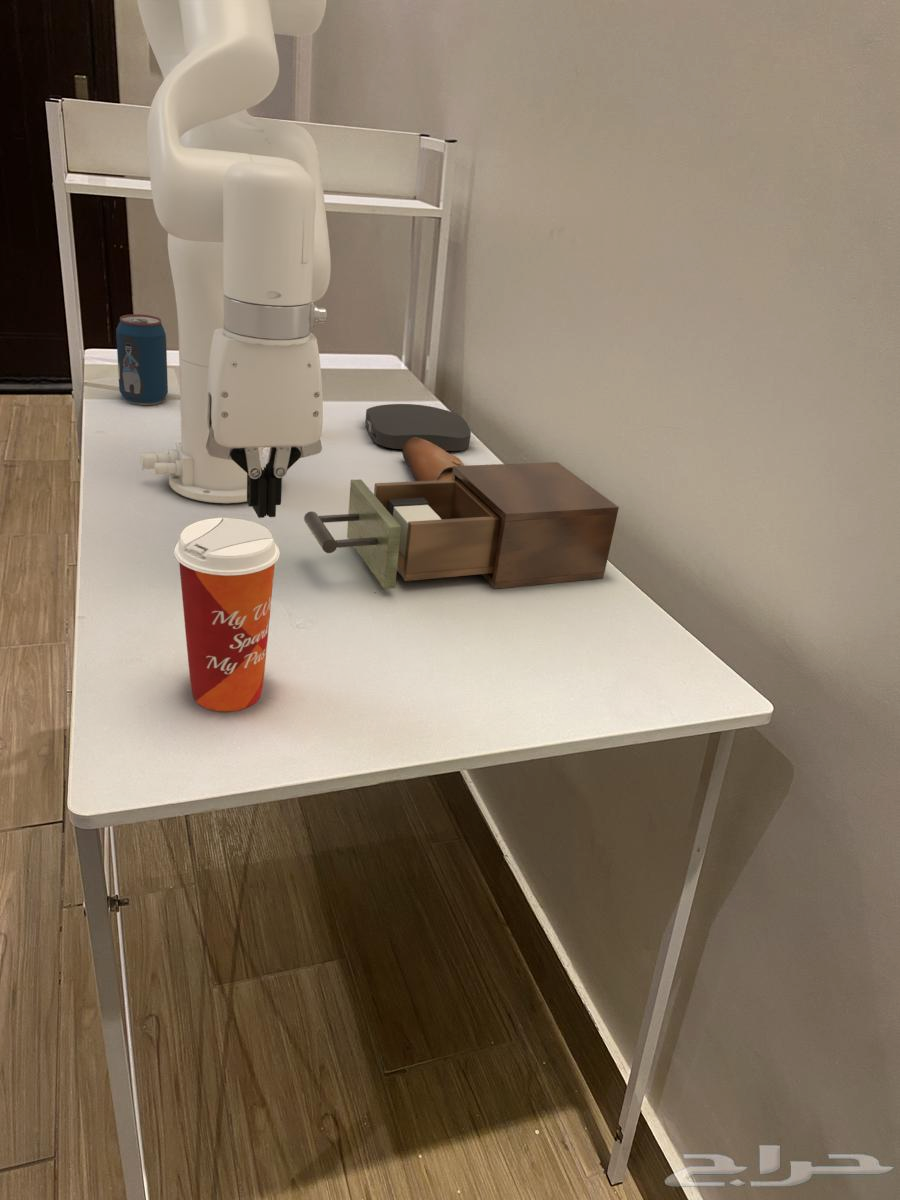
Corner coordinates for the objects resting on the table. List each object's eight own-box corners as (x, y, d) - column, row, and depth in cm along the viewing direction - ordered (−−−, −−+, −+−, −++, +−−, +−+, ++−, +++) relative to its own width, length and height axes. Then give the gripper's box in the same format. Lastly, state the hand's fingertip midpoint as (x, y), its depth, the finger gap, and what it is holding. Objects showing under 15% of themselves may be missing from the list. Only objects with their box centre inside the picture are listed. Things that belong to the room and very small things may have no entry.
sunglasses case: (492, 509, 114) (471, 464, 110) (442, 534, 114) (420, 491, 110) (459, 458, 129) (440, 418, 125) (415, 481, 129) (394, 442, 126)
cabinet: (494, 589, 96) (506, 514, 92) (444, 535, 106) (453, 465, 102) (603, 578, 101) (619, 507, 97) (545, 528, 112) (557, 461, 108)
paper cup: (228, 732, 69) (228, 568, 63) (157, 693, 73) (150, 534, 66) (295, 688, 76) (302, 535, 69) (227, 655, 79) (227, 506, 72)
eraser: (447, 563, 95) (452, 527, 93) (410, 566, 94) (414, 529, 92) (419, 531, 102) (423, 496, 100) (384, 534, 100) (387, 498, 98)
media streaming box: (474, 454, 133) (477, 434, 132) (376, 451, 129) (377, 431, 128) (452, 422, 145) (454, 404, 144) (361, 418, 142) (362, 400, 140)
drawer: (328, 594, 89) (332, 530, 85) (295, 540, 98) (298, 481, 95) (495, 578, 96) (504, 519, 93) (449, 530, 106) (456, 475, 102)
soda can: (166, 393, 142) (164, 314, 136) (169, 407, 136) (167, 325, 130) (119, 392, 139) (114, 312, 134) (120, 406, 134) (115, 323, 128)
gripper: (337, 312, 86) (327, 494, 94) (173, 307, 80) (178, 501, 88) (361, 331, 80) (348, 523, 88) (186, 326, 74) (190, 532, 82)
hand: (263, 511), depth 88 cm, fingers closed
